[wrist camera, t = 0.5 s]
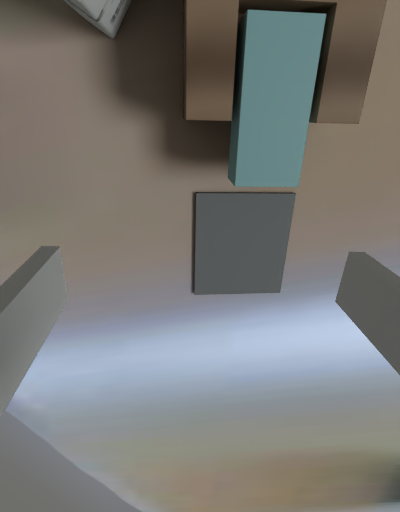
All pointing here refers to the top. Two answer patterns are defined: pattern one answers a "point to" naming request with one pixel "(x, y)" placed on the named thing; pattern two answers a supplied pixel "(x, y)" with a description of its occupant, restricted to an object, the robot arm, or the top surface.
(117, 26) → the ink box
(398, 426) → the top surface
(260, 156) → the slab
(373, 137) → the top surface
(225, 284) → the mat
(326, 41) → the block
